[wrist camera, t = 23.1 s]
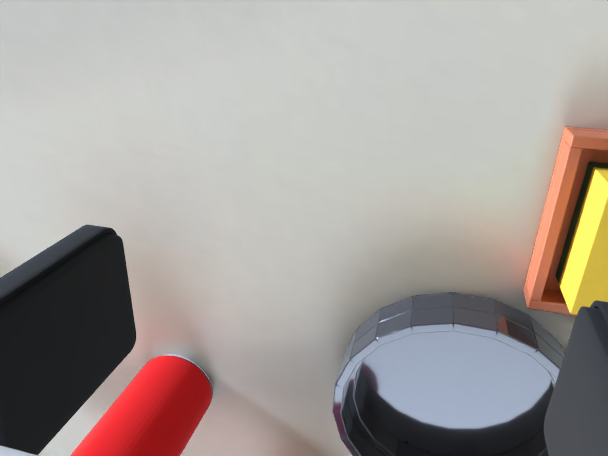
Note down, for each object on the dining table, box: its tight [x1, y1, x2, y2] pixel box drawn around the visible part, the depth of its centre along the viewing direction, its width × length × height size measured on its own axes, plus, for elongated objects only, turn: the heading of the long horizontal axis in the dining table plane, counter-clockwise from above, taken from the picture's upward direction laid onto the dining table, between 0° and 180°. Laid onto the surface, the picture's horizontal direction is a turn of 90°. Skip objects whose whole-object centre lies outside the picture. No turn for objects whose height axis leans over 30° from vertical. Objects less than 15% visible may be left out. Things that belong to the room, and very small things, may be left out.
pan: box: [333, 292, 565, 456], centre depth 33 cm, size 15×15×4 cm
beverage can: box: [71, 355, 213, 456], centre depth 36 cm, size 6×6×12 cm
